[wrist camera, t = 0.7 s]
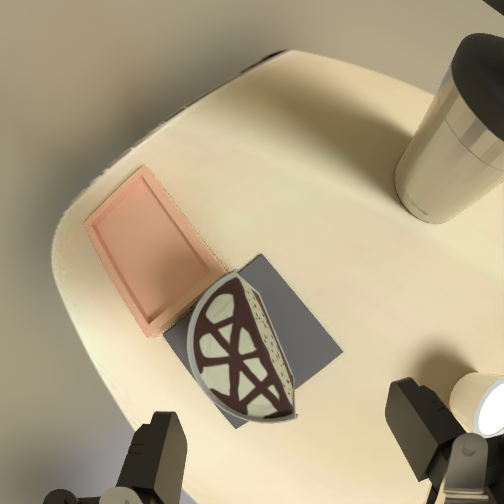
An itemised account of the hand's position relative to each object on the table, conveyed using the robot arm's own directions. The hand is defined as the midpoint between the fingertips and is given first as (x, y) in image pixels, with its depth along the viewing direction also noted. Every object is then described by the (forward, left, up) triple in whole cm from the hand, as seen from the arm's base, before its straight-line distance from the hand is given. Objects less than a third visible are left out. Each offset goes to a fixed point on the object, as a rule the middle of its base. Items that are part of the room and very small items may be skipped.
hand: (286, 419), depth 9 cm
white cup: (-12, +19, -20) cm, 30 cm away
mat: (+3, -3, -20) cm, 20 cm away
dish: (+6, -19, -20) cm, 28 cm away
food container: (+3, -3, -20) cm, 20 cm away
